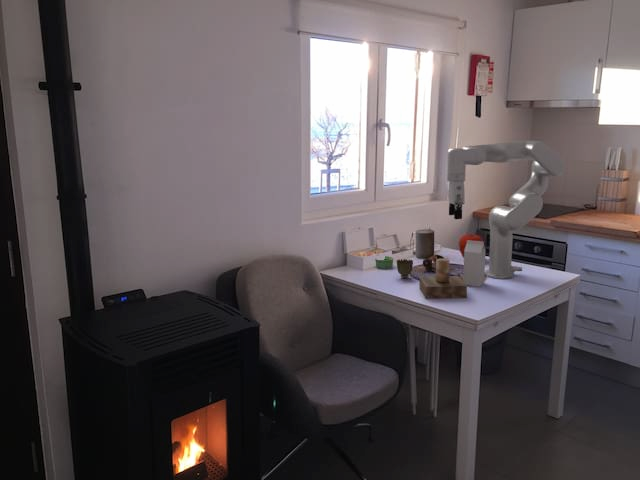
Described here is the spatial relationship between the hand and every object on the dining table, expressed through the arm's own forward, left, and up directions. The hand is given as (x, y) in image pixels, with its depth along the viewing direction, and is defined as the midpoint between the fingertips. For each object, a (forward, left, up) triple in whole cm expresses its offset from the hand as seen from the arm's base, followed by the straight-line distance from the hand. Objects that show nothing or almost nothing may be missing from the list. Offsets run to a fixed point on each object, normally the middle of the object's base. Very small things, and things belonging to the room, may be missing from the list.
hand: (455, 217), depth 234 cm
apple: (-16, -31, -28) cm, 45 cm away
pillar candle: (+5, -42, -28) cm, 51 cm away
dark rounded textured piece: (+21, -5, -28) cm, 36 cm away
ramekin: (+28, -25, -29) cm, 47 cm away
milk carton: (-7, +7, -28) cm, 30 cm away
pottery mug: (+6, -17, -29) cm, 34 cm away
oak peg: (+9, +18, -28) cm, 34 cm away
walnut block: (+9, +18, -28) cm, 35 cm away
